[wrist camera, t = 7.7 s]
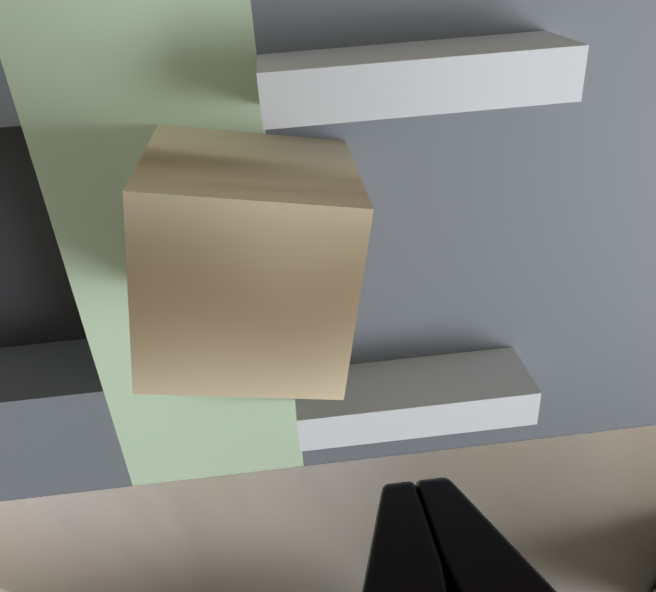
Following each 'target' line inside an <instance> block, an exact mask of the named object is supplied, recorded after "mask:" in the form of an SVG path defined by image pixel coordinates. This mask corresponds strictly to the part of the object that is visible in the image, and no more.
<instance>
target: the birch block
mask: <svg viewBox="0 0 656 592" xmlns="http://www.w3.org/2000/svg"><path fill="white" fill-rule="evenodd" d="M123 209H124V229H125V249H126V269H127V289H128V309H129V329H130V349H131V369H132V389H133V394H145V395H181V396H216V397H251V398H287V399H322V400H344V395H345V389H346V382H347V376H348V370H349V363H350V357H351V351H352V344H353V338H354V332H355V325H356V319H357V313H358V306H359V300H360V294H361V287H362V281H363V275H364V268H365V262H366V256H367V249H368V243H369V237H370V230H371V224H372V218H373V211H374V208H373V206H372V204H371V201H370V199H369V196H368V194H367V192H366V189H365V187H364V184H363V182H362V180H361V177H360V175H359V172H358V170H357V168H356V165H355V163H354V160H353V158H352V156H351V153H350V151H349V148H348V146H347V144H346V141H345V140H333V139H321V138H310V137H298V136H286V135H275V134H263V133H252V132H240V131H228V130H217V129H205V128H193V127H182V126H170V125H159V124H158V126H157V128H156V130H155V132H154V133H153V135H152V137H151V139H150V141H149V143H148V145H147V147H146V148H145V150H144V152H143V154H142V156H141V158H140V160H139V162H138V163H137V165H136V167H135V169H134V171H133V173H132V175H131V177H130V178H129V180H128V182H127V184H126V186H125V188H124V190H123Z"/></svg>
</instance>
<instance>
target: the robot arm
mask: <svg viewBox="0 0 656 592" xmlns="http://www.w3.org/2000/svg"><path fill="white" fill-rule="evenodd" d="M362 592H556V591H555V590H554V589H553V588H552V587H551V585H550V584H549V583H548V582H547V581H546V580H545V579H544V578H543V577H542V576H541V575H540V574H539V573H538V572H537V571H536V570H535V569H534V568H533V567H532V566H531V565H530V563H529V562H528V561H527V560H526V559H525V558H524V557H523V556H522V555H521V554H520V553H519V552H518V551H517V550H516V549H515V548H514V547H513V546H512V545H511V544H510V543H509V541H508V540H507V539H506V538H505V537H504V536H503V535H502V534H501V533H500V532H499V531H498V530H497V529H496V528H495V527H494V526H493V525H492V524H491V523H490V522H489V521H488V519H487V518H486V517H485V516H484V515H483V514H482V513H481V512H480V511H479V510H478V509H477V508H476V507H475V506H474V505H473V504H472V503H471V502H470V501H469V500H468V499H467V497H466V496H465V495H464V494H463V493H462V492H461V491H460V490H459V489H458V488H457V487H456V486H455V485H454V484H453V483H452V482H451V481H450V480H449V479H446V478H435V479H427V480H420V481H418V482H417V483H416V485H415V484H414V483H412V482H402V483H393V484H387V485H385V486H384V487H383V488H382V492H381V497H380V502H379V507H378V512H377V518H376V523H375V528H374V533H373V538H372V544H371V549H370V554H369V559H368V564H367V570H366V575H365V580H364V585H363V590H362Z"/></svg>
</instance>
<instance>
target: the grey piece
mask: <svg viewBox="0 0 656 592" xmlns="http://www.w3.org/2000/svg"><path fill="white" fill-rule="evenodd" d="M158 124H159V125H170V126H182V127H193V128H205V129H217V130H228V131H240V132H252V133H263V134H275V135H286V136H298V137H310V138H321V139H333V140H345V141H346V144H347V146H348V148H349V151H350V153H351V156H352V158H353V160H354V163H355V165H356V168H357V170H358V172H359V175H360V177H361V180H362V182H363V184H364V187H365V189H366V192H367V194H368V196H369V199H370V201H371V204H372V206H373V208H374V211H373V218H372V224H371V230H370V237H369V243H368V249H367V256H366V262H365V268H364V275H363V281H362V287H361V294H360V300H359V306H358V313H357V319H356V325H355V332H354V338H353V344H352V351H351V357H350V363H349V370H348V376H347V382H346V389H345V395H344V400H322V399H287V398H251V397H216V396H181V395H145V394H133V389H132V369H131V349H130V329H129V309H128V289H127V269H126V249H125V229H124V209H123V190H124V188H125V186H126V184H127V182H128V180H129V178H130V177H131V175H132V173H133V171H134V169H135V167H136V165H137V163H138V162H139V160H140V158H141V156H142V154H143V152H144V150H145V148H146V147H147V145H148V143H149V141H150V139H151V137H152V135H153V133H154V132H155V130H156V128H157V126H158ZM651 425H656V0H0V501H7V500H16V499H25V498H33V497H42V496H50V495H59V494H68V493H76V492H85V491H93V490H102V489H110V488H119V487H128V486H136V485H145V484H153V483H162V482H171V481H179V480H188V479H196V478H205V477H214V476H222V475H231V474H239V473H248V472H256V471H265V470H274V469H282V468H291V467H299V466H308V465H317V464H325V463H334V462H342V461H351V460H359V459H368V458H377V457H385V456H394V455H402V454H411V453H420V452H428V451H437V450H445V449H454V448H462V447H471V446H480V445H488V444H497V443H505V442H514V441H523V440H531V439H540V438H548V437H557V436H565V435H574V434H583V433H591V432H600V431H608V430H617V429H626V428H634V427H643V426H651Z"/></svg>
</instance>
